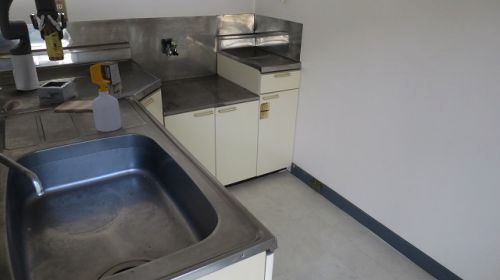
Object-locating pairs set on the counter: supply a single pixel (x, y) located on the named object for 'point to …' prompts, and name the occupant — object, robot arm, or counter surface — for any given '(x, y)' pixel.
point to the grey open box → (55, 91)
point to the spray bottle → (104, 104)
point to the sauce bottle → (52, 41)
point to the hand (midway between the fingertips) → (53, 39)
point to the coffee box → (112, 78)
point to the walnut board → (75, 106)
